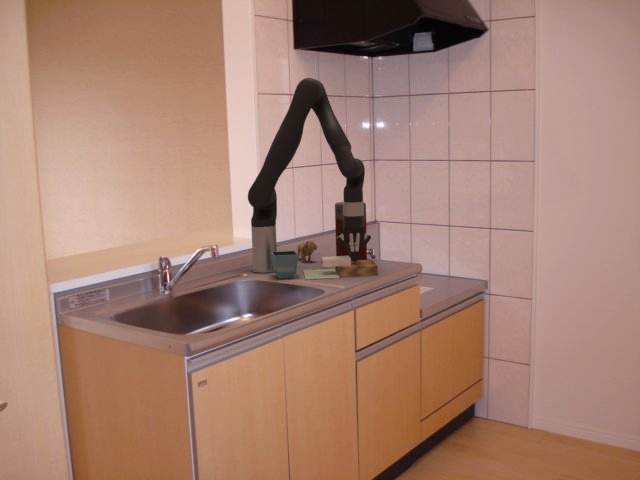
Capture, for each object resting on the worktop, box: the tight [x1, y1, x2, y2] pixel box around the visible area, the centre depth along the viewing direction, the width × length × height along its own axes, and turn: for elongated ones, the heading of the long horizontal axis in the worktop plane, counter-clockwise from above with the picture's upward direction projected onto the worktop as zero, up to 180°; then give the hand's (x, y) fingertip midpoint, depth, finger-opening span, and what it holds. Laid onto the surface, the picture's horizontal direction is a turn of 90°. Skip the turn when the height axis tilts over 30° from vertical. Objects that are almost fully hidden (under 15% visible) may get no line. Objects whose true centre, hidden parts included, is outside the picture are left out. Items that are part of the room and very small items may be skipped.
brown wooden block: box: [334, 259, 379, 278], centre depth 264 cm, size 14×12×4 cm
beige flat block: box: [321, 255, 351, 268], centre depth 262 cm, size 10×6×2 cm, turn 95°
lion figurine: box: [296, 240, 319, 264], centre depth 290 cm, size 15×5×9 cm, turn 32°
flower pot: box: [271, 250, 299, 280], centre depth 259 cm, size 9×9×9 cm
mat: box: [302, 268, 341, 281], centre depth 263 cm, size 12×16×1 cm
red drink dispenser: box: [334, 201, 368, 261], centre depth 287 cm, size 9×11×28 cm
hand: (354, 261), depth 263 cm, fingers closed
